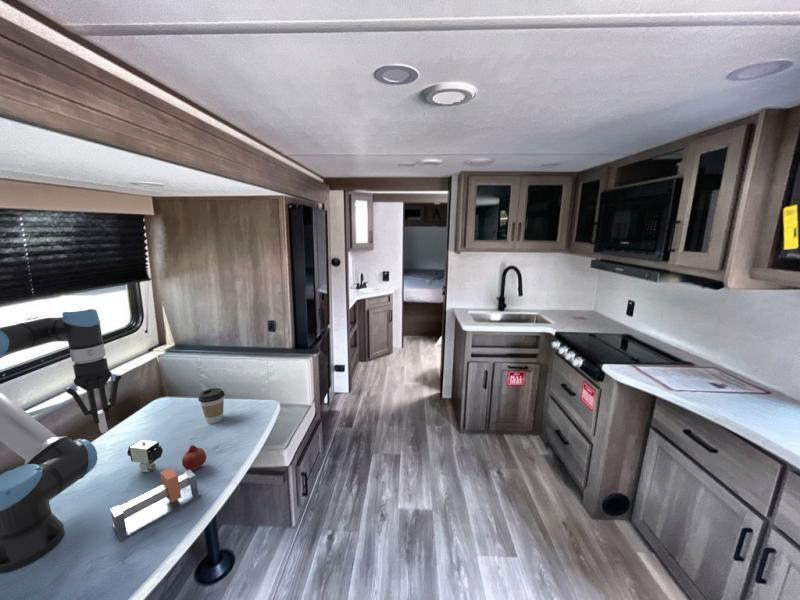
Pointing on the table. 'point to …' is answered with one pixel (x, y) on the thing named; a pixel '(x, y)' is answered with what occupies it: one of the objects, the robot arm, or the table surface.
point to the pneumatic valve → (145, 454)
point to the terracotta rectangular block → (171, 484)
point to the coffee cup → (212, 404)
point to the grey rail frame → (152, 507)
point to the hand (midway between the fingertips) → (103, 430)
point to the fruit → (193, 458)
